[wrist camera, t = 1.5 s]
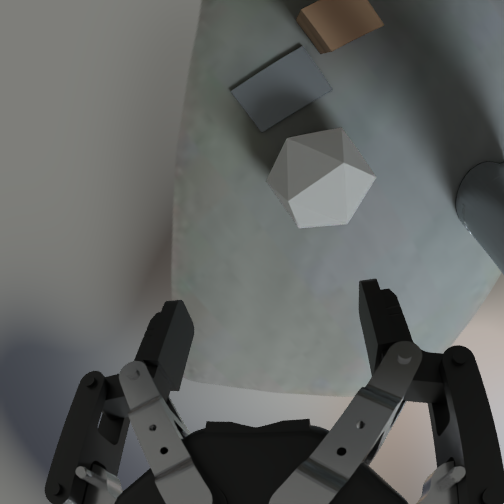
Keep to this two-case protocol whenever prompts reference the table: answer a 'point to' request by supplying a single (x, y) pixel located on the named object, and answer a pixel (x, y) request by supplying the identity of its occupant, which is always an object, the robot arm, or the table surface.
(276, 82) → the pad
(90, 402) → the robot arm
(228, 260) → the table surface
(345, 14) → the brown rectangular block
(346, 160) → the die
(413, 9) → the table surface
